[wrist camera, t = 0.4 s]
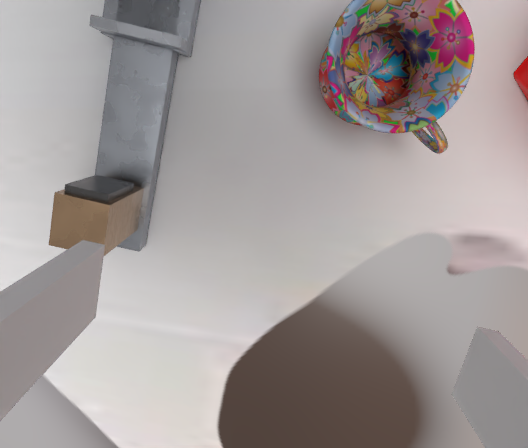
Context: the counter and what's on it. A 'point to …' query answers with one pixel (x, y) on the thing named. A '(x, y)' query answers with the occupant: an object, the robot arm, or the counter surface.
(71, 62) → the counter surface
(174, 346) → the counter surface
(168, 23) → the rail
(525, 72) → the vase
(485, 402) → the robot arm
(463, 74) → the mug
